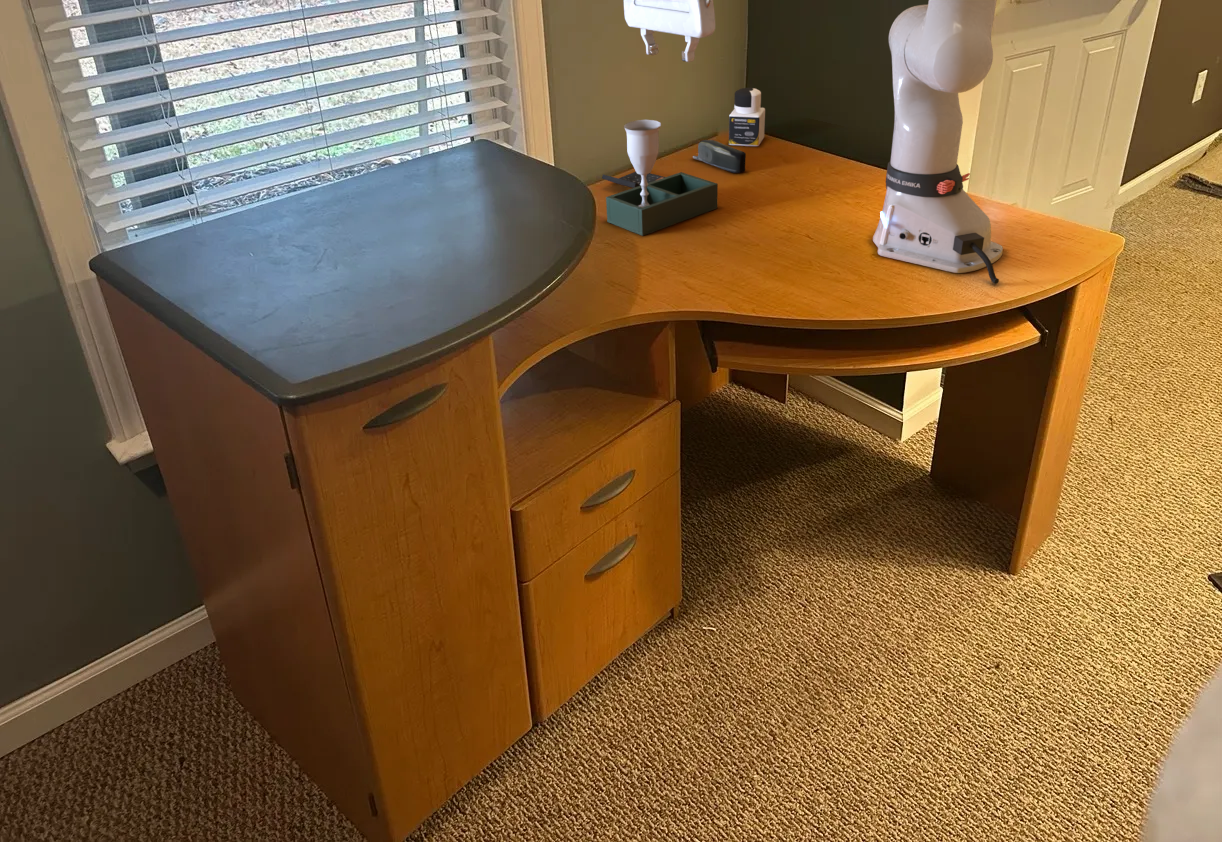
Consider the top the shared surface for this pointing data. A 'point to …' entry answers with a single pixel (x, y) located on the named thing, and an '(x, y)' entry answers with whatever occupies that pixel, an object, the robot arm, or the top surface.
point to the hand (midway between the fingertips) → (670, 57)
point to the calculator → (632, 179)
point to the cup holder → (662, 203)
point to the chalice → (643, 149)
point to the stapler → (721, 156)
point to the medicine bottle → (747, 118)
